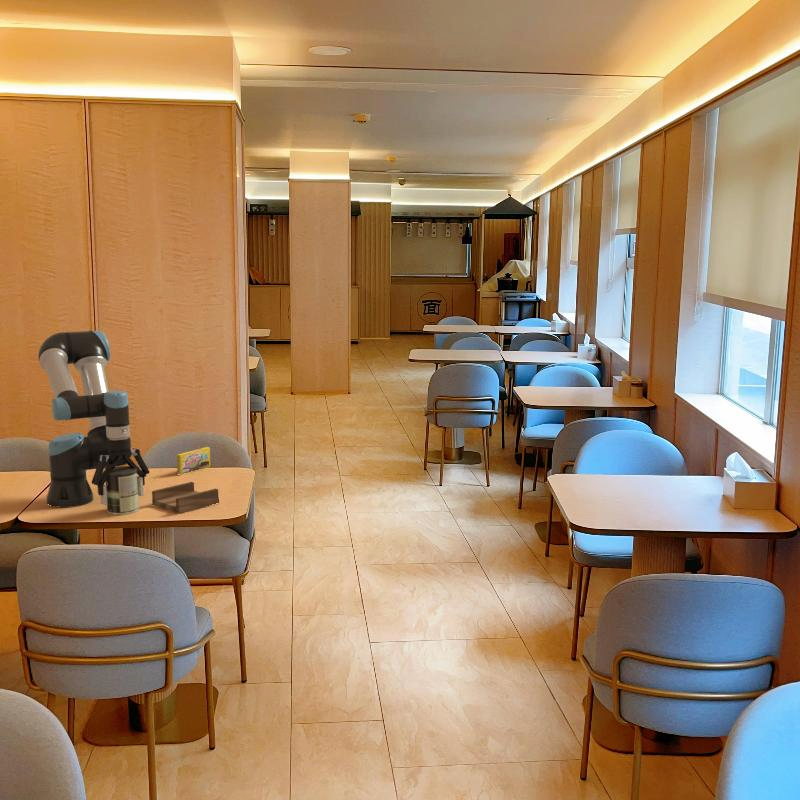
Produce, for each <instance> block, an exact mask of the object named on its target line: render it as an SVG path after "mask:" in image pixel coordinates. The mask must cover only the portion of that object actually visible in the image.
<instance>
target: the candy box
mask: <svg viewBox="0 0 800 800" xmlns="http://www.w3.org/2000/svg"><path fill="white" fill-rule="evenodd" d="M176 463H177V464H176V467H177V468H176V469H177V470H176V474H180V475H179V476H182V475H181V474H184V473H187V474H189V473H188V472H191V471H194V470H198V471H200V470H199V469H201V470H205V469H207V468H211V447H209V446H205V447H202V448H198V449H193V450H190V451H185V452H182V453H178V454H177V453H176ZM194 472H195V471H194ZM191 473H192V472H191ZM184 475H185V474H184Z"/></svg>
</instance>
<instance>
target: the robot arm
mask: <svg viewBox="0 0 800 800" xmlns="http://www.w3.org/2000/svg"><path fill="white" fill-rule="evenodd" d="M110 349H111V347H110V343H109V340H108V338H107V335H105V333H104V332H103V331H101V330H87V331H86V330H85V331H84V330H83V331H66V332H63V331H62V332H61V331H60V332H57V333H54V334H51V335H49V337H47V338H46V339H45V340H44V341H43V342H42V344H41V346H40V347H39V350H38V354H37V355H38V357H37V358H38V362H39V364H40V367H41V368H42V369H43V370H44V371H45V373H46V376H47V379H48V381H49V385H50V389H51V391H52V394H53V397H54V398H52V399H51V413H52V417H53V419H54V420H55V421H71V420H77V419H78V420H79V419H87V418H88V422H89V426H90V427H89V428H90V429H89V430H88V431H87V432H86V435H87V436H85V435H84V434H83V433H82V432H71V433H65V434H62V435H58V436H55V437H53V438H52V439H50V441H49V442H48V453H47V454H48V459H49V462H48V463H49V471H50V472H49V474H50V484H49V487H48V492H47V495H46V504H47V505H48V504H49V505H51V506H50V507H53V506H60V507H59V508H71V507H70V506H73V507H78V506H82V505H87V504H88V503H91V502H92V501H94V493H93V490H92V488H91V486H90V484H89V483H90V482H89V481H88V478H87V471H91V470H95V471H94V474H93V477H92V479H91V484H92V485H95V486H96V487H97V494H98V496H100V505H104V506H107V492H106V480H107V478H108V477H109V473H111V472H112V470H113V469H114V468H115V467H120V466H127V465H128V466H130V467H132V468H136V469H137V472H136V473H137V491H138V497H144V495H145V494H144V486H145V484H146V482H145V478H146V477H147V475H149V474H150V470H149V468H148V467H147V464H146V462H145V461H144V458H143V457H142V456H141V452H140V449H139V448H135V447H134V448H132V444H131V443H132V441H131V438H130V437H131V427H130V425H131V424H130V410H129V409H130V408H129V403H130V401H129V397H128V393H127V391H125V390H109V386H108V381H107V376H106V375H107V374H106V369H105V368H106V367H107V364H108V362H109V361H110V359H111V350H110ZM68 365H73V367H74V369H75V371H77V372H79V374H80V379H81V384H82V391H83V395H80V394H79V392H78V389H77V386H76V383H75V382H74V378H73V376H72V373H71V371H70V368H69V366H68ZM131 448H132V449H131ZM132 456H133V457H134V459H135V461H136V463H137V465H136V463H135V462H134V461H133V459H131V457H132ZM49 505H48V506H49ZM68 506H69V507H68Z"/></svg>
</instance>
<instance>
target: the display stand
mask: <svg viewBox="0 0 800 800" xmlns="http://www.w3.org/2000/svg"><path fill="white" fill-rule="evenodd" d="M151 496H152V499H151V502H152V503H151V504H152V506H153V505H155V506H154V507H157V508H160V509H163V510H166V511H170V512H173V513H176V514H178V515H180V514H181V515H182V514H186V513H189V512H192V511H193V512H194V511H196V510H200V508H201V509H203V507H204V508H207V507H206V506H208V507H210V506H209V505H212V504H216V503H219V504H220V498H219V489H217V488H212V489H211V488H210V489H208V490H204V491H196V490H195V482H194V481H189V482H184V483H181V484H176V485H172V486H168V487H164V488H160V489H155V490H152V491H151ZM216 505H217V504H216ZM212 506H213V505H212ZM185 512H186V513H185Z"/></svg>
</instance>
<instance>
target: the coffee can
mask: <svg viewBox="0 0 800 800" xmlns="http://www.w3.org/2000/svg"><path fill="white" fill-rule="evenodd" d="M136 472H137V469H136V468H132V467H130V466H129V465H128V466H127V465H121V466H116V467H115V468H114V469H113V470H112V472H111V473H109V477H108V478H107V480H106V482H105V485H106V492H107V505H106V508H107V511H106V512H107V514H108V515H112V514H115V515H114V516H117V515H116V514H126V515H129V513H131V514H134V513H136V512H138V511H139V510H138V509H140V508H139V495H138V491H137V476H138V474H137V473H136ZM133 512H134V513H133Z"/></svg>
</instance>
